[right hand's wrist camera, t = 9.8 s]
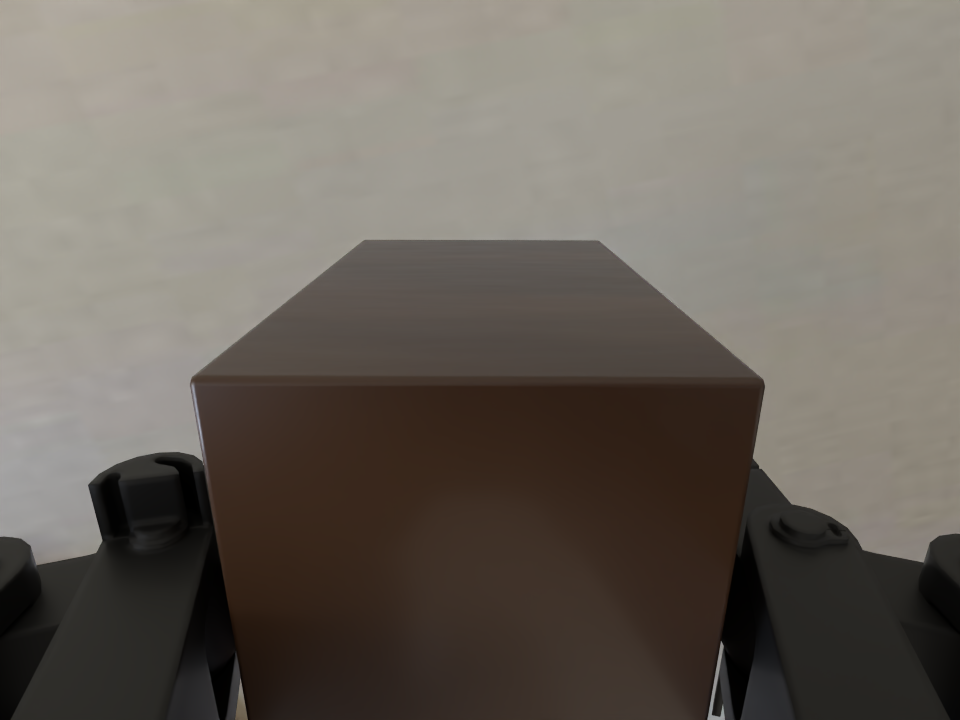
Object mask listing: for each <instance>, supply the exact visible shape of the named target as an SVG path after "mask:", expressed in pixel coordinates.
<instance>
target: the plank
mask: <svg viewBox="0 0 960 720" xmlns="http://www.w3.org/2000/svg"><path fill="white" fill-rule="evenodd" d="M190 387H191V393H192V398H193V404H194V410H195V416H196V422H197V427H198V433H199V439H200V445H201V451H202V456H203V462H204V468H205V474H206V479H207V485H208V491H209V497H210V503H211V508H212V514H213V520H214V526H215V532H216V537H217V543H218V549H219V555H220V561H221V566H222V572H223V578H224V584H225V590H226V595H227V601H228V607H229V613H230V618H231V624H232V630H233V636H234V642H235V647H236V653H237V659H238V665H239V671H240V676H241V682H242V688H243V694H244V700H245V705H246V711H247V717H248V720H707V718H708V713H709V707H710V701H711V695H712V690H713V684H714V678H715V672H716V666H717V661H718V655H719V649H720V643H721V638H722V632H723V626H724V620H725V614H726V609H727V603H728V597H729V591H730V585H731V580H732V574H733V568H734V562H735V557H736V551H737V545H738V539H739V533H740V528H741V522H742V516H743V510H744V505H745V499H746V493H747V487H748V481H749V476H750V470H751V464H752V458H753V452H754V447H755V441H756V435H757V429H758V424H759V418H760V412H761V406H762V400H763V395H764V389H765V385H764V381H763V379H762V378H761V377H760V376H758V375H757V374H756V373H755V372H754V371H753V370H751V369H750V368H749V367H748V366H747V365H745V364H744V363H743V362H742V361H741V360H739V359H738V358H737V357H736V356H735V355H734V354H732V353H731V352H730V351H729V350H728V349H726V348H725V347H724V346H723V345H722V344H721V343H719V342H718V341H717V340H716V339H715V338H713V337H712V336H711V335H710V334H709V333H707V332H706V331H705V330H704V329H703V328H702V327H700V326H699V325H698V324H697V323H696V322H694V321H693V320H692V319H691V318H690V317H689V316H687V315H686V314H685V313H684V312H683V311H681V310H680V309H679V308H678V307H677V306H675V305H674V304H673V303H672V302H671V301H670V300H668V299H667V298H666V297H665V296H664V295H662V294H661V293H660V292H659V291H658V290H657V289H655V288H654V287H653V286H652V285H651V284H649V283H648V282H647V281H646V280H645V279H643V278H642V277H641V276H640V275H639V274H638V273H636V272H635V271H634V270H633V269H632V268H630V267H629V266H628V265H627V264H626V263H625V262H623V261H622V260H621V259H620V258H619V257H617V256H616V255H615V254H614V253H613V252H611V251H610V250H609V249H608V248H607V247H606V246H604V245H603V244H602V243H601V242H599V241H549V240H364V241H363V242H361V243H360V244H359V245H358V246H356V247H355V248H354V249H352V250H351V251H350V252H349V253H347V254H346V255H345V256H344V257H342V258H341V259H340V260H339V261H337V262H336V263H335V264H334V265H332V266H331V267H330V268H329V269H327V270H326V271H325V272H324V273H322V274H321V275H320V276H319V277H317V278H316V279H315V280H314V281H312V282H311V283H310V284H308V285H307V286H306V287H305V288H303V289H302V290H301V291H300V292H298V293H297V294H296V295H295V296H293V297H292V298H291V299H290V300H288V301H287V302H286V303H285V304H283V305H282V306H281V307H280V308H278V309H277V310H276V311H275V312H273V313H272V314H271V315H270V316H268V317H267V318H266V319H264V320H263V321H262V322H261V323H259V324H258V325H257V326H256V327H254V328H253V329H252V330H251V331H249V332H248V333H247V334H246V335H244V336H243V337H242V338H241V339H239V340H238V341H237V342H236V343H234V344H233V345H232V346H231V347H229V348H228V349H227V350H226V351H224V352H223V353H222V354H220V355H219V356H218V357H217V358H215V359H214V360H213V361H212V362H210V363H209V364H208V365H207V366H205V367H204V368H203V369H202V370H200V371H199V372H198V373H197V374H195V375H194V376H193V377H192V379H191V383H190Z"/></svg>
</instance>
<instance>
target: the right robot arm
mask: <svg viewBox="0 0 960 720" xmlns="http://www.w3.org/2000/svg"><path fill="white" fill-rule="evenodd" d="M88 487H89V490H90V494H91V498H92V502H93V506H94V509H95V513H96V517H97V521H98V525H99V529H100V532H101V536H102V540H103V541H102V543H101V545H100V547H99V549H98V551H97V553H95V554H91V555H87V556H83V557H78V558H72V559H67V560H62V561H57V562H52V563H47V564H42V565H36V562H35V559H34V556H33V553H32V550H31V546H30V545H29V544H27V543H26V542H25V541H23V540H22V539H19V538H11V537H0V720H235V715H236V708H237V700H238V692H239V685H240V677H241V676H240V671H239V665H238V659H237V653H236V647H235V642H234V636H233V630H232V624H231V618H230V613H229V607H228V601H227V595H226V590H225V584H224V578H223V572H222V566H221V561H220V555H219V549H218V543H217V537H216V532H215V526H214V520H213V514H212V508H211V503H210V497H209V491H208V485H207V479H206V474H205V468H204V465H203V462H202V461H201V460H199V459H198V458H197V457H195V456H194V455H190V454H185V453H180V452H168V453H155V454H150V455H145V456H140V457H136V458H133V459H130V460H127V461H124V462H122V463H119V464H116V465H114V466H113V467H111V468H109V469H107V470H105V471H104V472H102V473H100V474H99V475H98V476H97V477H96V478H95V479H94V480H93V481H92V482H91V483H90V484H89V485H88ZM721 641H722V643H723V645H724V648H723V654H722V659H721V665H720V670H719V676H718V681H717V687H716V692H715V698H714V703H713V710H712V715H714V716H719V717H720V716H721V710H722V705H723V706H724V714H725V720H960V534H950V535H942V536H938V537H937V538H936V539H934V540H933V541H932V542H930V545H929V548H928V551H927V554H926V557H925V561H924V563H923V562H917V561H912V560H907V559H902V558H897V557H892V556H886V555H881V554H876V553H872V552H868V551H864V550H862V548H861V546H860V544H859V542H858V540H857V539H856V538H855V537H854V535H853V534H852V533H851V532H850V531H849V529H848V528H847V527H845V526H844V525H842V524H841V523H839V522H838V521H836V520H835V519H833V518H832V517H830V516H827V515H825V514H823V513H820V512H818V511H815V510H813V509H810V508H806V507H801V506H797V505H792V504H791V503H790V502H789V501H788V500H787V499H786V497H785V496H784V495H783V494H782V493H781V491H780V490H779V489H778V488H777V487H776V485H775V484H774V483H773V482H772V481H771V480H770V478H769V477H768V476H767V475H766V474H765V472H764V471H763V470H762V469H759V465H758V464H757V463H756V462H755V461H754V459H753V458H752V464H751V470H750V476H749V481H748V487H747V493H746V499H745V505H744V510H743V516H742V522H741V528H740V533H739V539H738V545H737V551H736V557H735V562H734V568H733V574H732V580H731V585H730V591H729V597H728V603H727V609H726V614H725V620H724V626H723V632H722V638H721Z"/></svg>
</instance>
